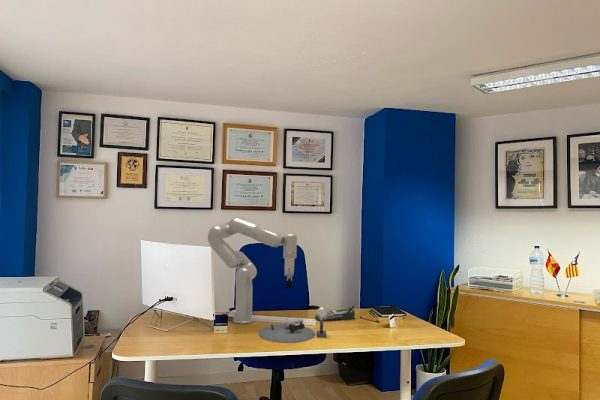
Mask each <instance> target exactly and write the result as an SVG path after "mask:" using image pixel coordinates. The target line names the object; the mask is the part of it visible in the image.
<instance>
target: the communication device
mask: <svg viewBox="0 0 600 400" xmlns="http://www.w3.org/2000/svg"><path fill="white" fill-rule="evenodd" d="M354 309H355V305H353V306H352V307H348V308H345V307H344V308H337V309H330V310H329V311H327V312H328V316H327V318H326V319H324V320H323V322H329V321H334V320H335V321H336V320H340V321H347V320H354V319H355V315H356V311H355V310H354ZM314 319H315V321H318V322H320V319H319V318H318V317H317V316H316V314H315V317H314Z"/></svg>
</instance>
